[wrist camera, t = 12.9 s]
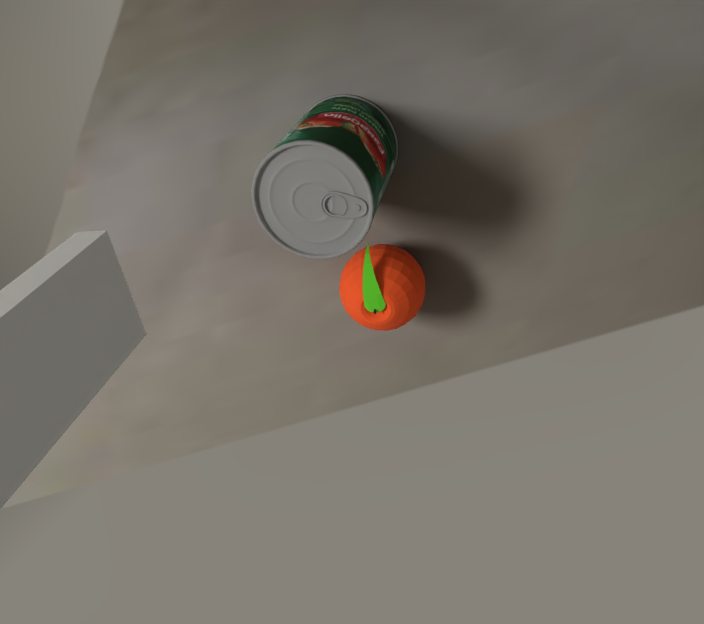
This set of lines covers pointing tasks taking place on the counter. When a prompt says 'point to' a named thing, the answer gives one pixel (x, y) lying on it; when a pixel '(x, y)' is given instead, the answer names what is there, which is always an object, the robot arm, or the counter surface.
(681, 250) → the counter surface
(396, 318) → the clementine
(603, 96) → the counter surface
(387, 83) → the counter surface
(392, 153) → the canned tomato
